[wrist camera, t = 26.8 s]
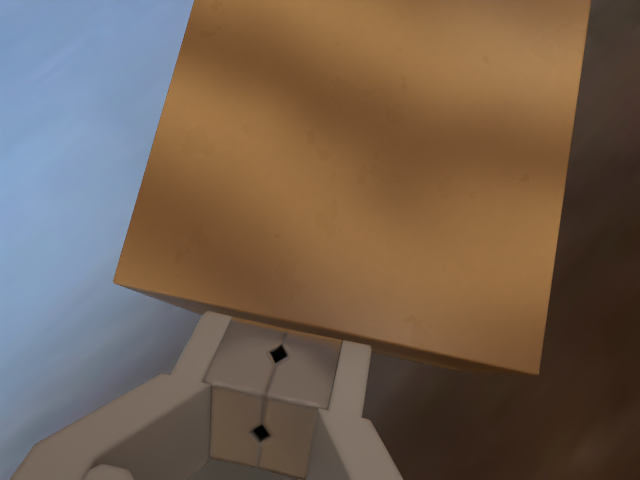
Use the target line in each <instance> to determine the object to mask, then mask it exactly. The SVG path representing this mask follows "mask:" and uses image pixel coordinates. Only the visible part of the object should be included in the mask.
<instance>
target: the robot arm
mask: <svg viewBox="0 0 640 480" xmlns="http://www.w3.org/2000/svg"><path fill="white" fill-rule="evenodd" d="M341 345H342V346H341ZM340 350H341V351H340ZM371 351H372V349H371V346H370V345H365V344H360V343H355V342H350V341H345V340H343V343H342V340H339V339H334V338H329V337H324V336H319V335H314V334H309V333H305V332H300V331H295V330H290V329H285V328H281V327H276V326H272V325H268V324H264V323H260V322H256V321H251V320H247V319H243V318H239V317H232V316H228V315H224V314H219V313H215V312H211V311H206V312H205V313H204V314H203V315H202V316H201V318H200V320H199V322H198V323H197V325H196V327H195V329H194V331H193V333H192V335H191V336H190V338H189V340H188V342H187V344H186V346H185V348H184V350H183V351H182V353H181V355H180V357H179V359H178V361H177V363H176V365H175V366H174V368H173V370H172V372H171V374H170V375H168V374H163V373H161V374H159V375H158V376H156V377H154V378H152V379H151V380H149V381H147V382H145V383H143V384H142V385H140V386H138V387H136V388H135V389H133V390H131V391H129V392H127V393H126V394H124V395H122V396H120V397H118V398H117V399H115V400H113V401H111V402H110V403H108V404H106V405H104V406H102V407H101V408H99V409H97V410H95V411H94V412H92V413H90V414H88V415H86V416H85V417H83V418H81V419H79V420H77V421H76V422H74V423H72V424H70V425H69V426H67V427H65V428H63V429H61V430H60V431H58V432H56V433H54V434H52V435H51V436H49V437H47V438H45V439H44V440H42V441H40V442H38V443H36V444H35V445H34V446H33V448H32V449H31V450H30V452H29V453H28V455H27V456H26V457H25V459H24V460H23V462H22V463H21V465H20V466H19V467H18V469H17V470H16V472H15V473H14V474H13V476H12V477H11V479H10V480H187V479H188V478H189V477H191V476H192V475H193V474H194V473H195V472H196V471H198V470H199V469H200V468H201V467H202V466H203V465H205V464H206V463H207V462H208V461H209V458H211V459H216V460H221V461H226V462H231V463H236V464H240V465H245V466H250V467H255V468H259V469H263V470H267V471H271V472H274V473H278V474H282V475H286V476H290V477H294V478H297V479H301V480H403V478H402V476H401V474H400V473H399V471H398V469H397V467H396V465H395V464H394V462H393V460H392V458H391V456H390V455H389V453H388V451H387V449H386V447H385V446H384V444H383V442H382V440H381V438H380V437H379V435H378V433H377V431H376V429H375V428H374V426H373V424H372V422H371V421H370V420H368V419H364V418H362V412H363V406H364V399H365V392H366V385H367V378H368V372H369V365H370V358H371ZM339 355H340V356H339Z"/></svg>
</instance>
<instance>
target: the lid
mask: <svg viewBox="0 0 640 480" xmlns="http://www.w3.org/2000/svg"><path fill="white" fill-rule="evenodd" d="M590 5H591V0H194V3H193V7H192V10H191V14H190V17H189V21H188V24H187V28H186V31H185V35H184V38H183V41H182V45H181V48H180V52H179V55H178V59H177V62H176V66H175V69H174V73H173V76H172V79H171V83H170V86H169V90H168V93H167V97H166V100H165V104H164V107H163V111H162V114H161V117H160V121H159V124H158V128H157V131H156V135H155V138H154V142H153V145H152V149H151V152H150V155H149V159H148V162H147V166H146V169H145V173H144V176H143V180H142V183H141V187H140V190H139V193H138V197H137V200H136V204H135V207H134V211H133V214H132V218H131V221H130V225H129V228H128V231H127V235H126V238H125V242H124V245H123V249H122V252H121V256H120V259H119V263H118V266H117V269H116V273H115V276H114V280H113V283H115V284H117V285H120V286H123V287H127V288H132V289H136V290H141V291H146V292H150V293H155V294H159V295H164V296H169V297H173V298H178V299H182V300H187V301H192V302H196V303H201V304H205V305H210V306H214V307H219V308H224V309H228V310H233V311H237V312H242V313H247V314H251V315H256V316H260V317H265V318H270V319H274V320H279V321H283V322H288V323H293V324H297V325H302V326H306V327H311V328H315V329H320V330H325V331H329V332H334V333H338V334H343V335H348V336H352V337H357V338H361V339H366V340H371V341H375V342H380V343H384V344H389V345H394V346H398V347H403V348H407V349H412V350H417V351H421V352H426V353H430V354H435V355H439V356H444V357H449V358H453V359H458V360H462V361H467V362H472V363H476V364H481V365H485V366H490V367H495V368H499V369H504V370H508V371H513V372H518V373H522V374H527V375H538V374H539V369H540V362H541V355H542V348H543V340H544V333H545V326H546V319H547V312H548V305H549V298H550V291H551V283H552V276H553V269H554V262H555V255H556V248H557V241H558V234H559V226H560V219H561V212H562V205H563V198H564V191H565V184H566V176H567V169H568V162H569V155H570V148H571V141H572V134H573V127H574V119H575V112H576V105H577V98H578V91H579V84H580V77H581V70H582V62H583V55H584V48H585V41H586V34H587V27H588V20H589V12H590Z"/></svg>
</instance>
